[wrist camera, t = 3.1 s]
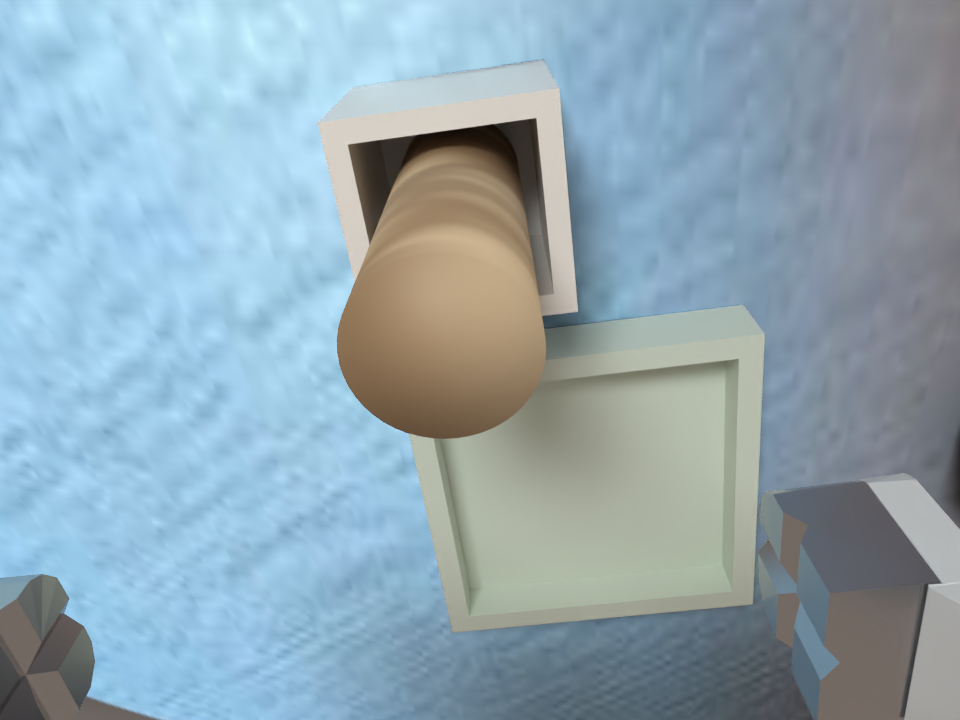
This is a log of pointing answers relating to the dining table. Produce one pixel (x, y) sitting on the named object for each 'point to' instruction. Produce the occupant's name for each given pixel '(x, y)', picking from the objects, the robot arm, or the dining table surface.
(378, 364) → the dowel
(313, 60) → the dining table surface
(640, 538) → the tray
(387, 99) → the pen cup
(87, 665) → the robot arm
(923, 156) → the dining table surface
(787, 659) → the dining table surface
